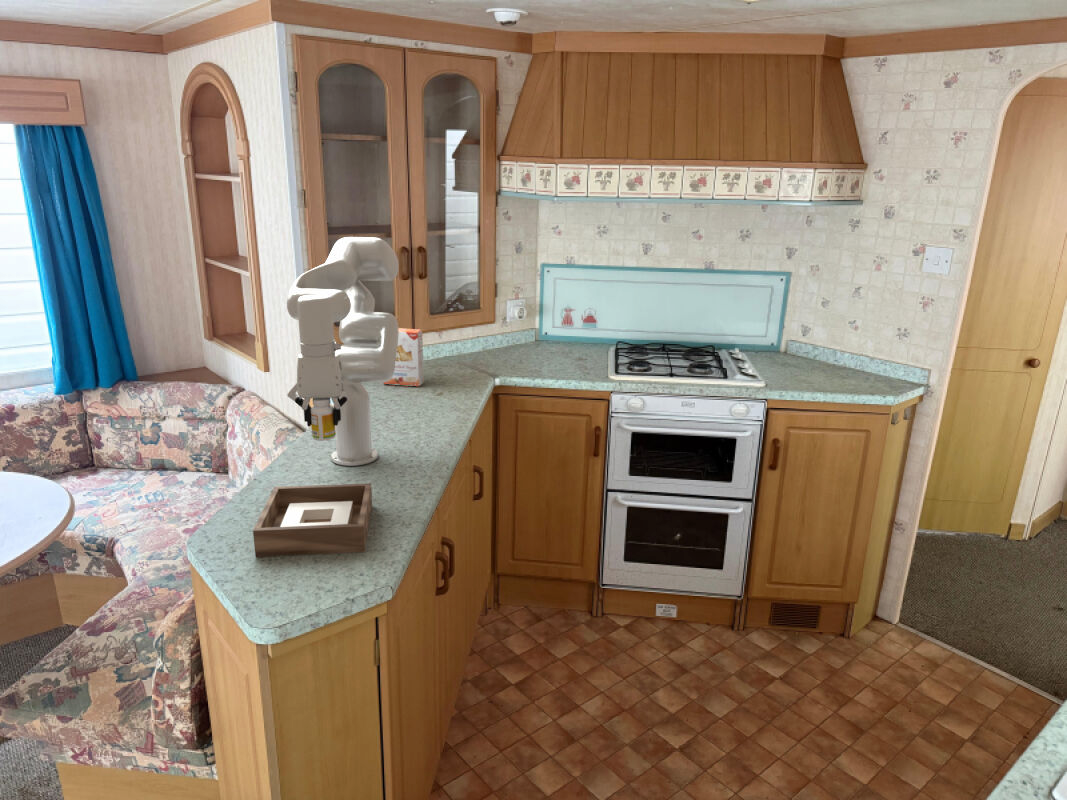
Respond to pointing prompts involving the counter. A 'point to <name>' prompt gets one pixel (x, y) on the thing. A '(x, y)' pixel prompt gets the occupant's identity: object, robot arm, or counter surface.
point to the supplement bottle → (322, 420)
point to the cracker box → (408, 358)
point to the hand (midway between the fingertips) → (323, 423)
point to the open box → (317, 537)
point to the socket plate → (318, 513)
